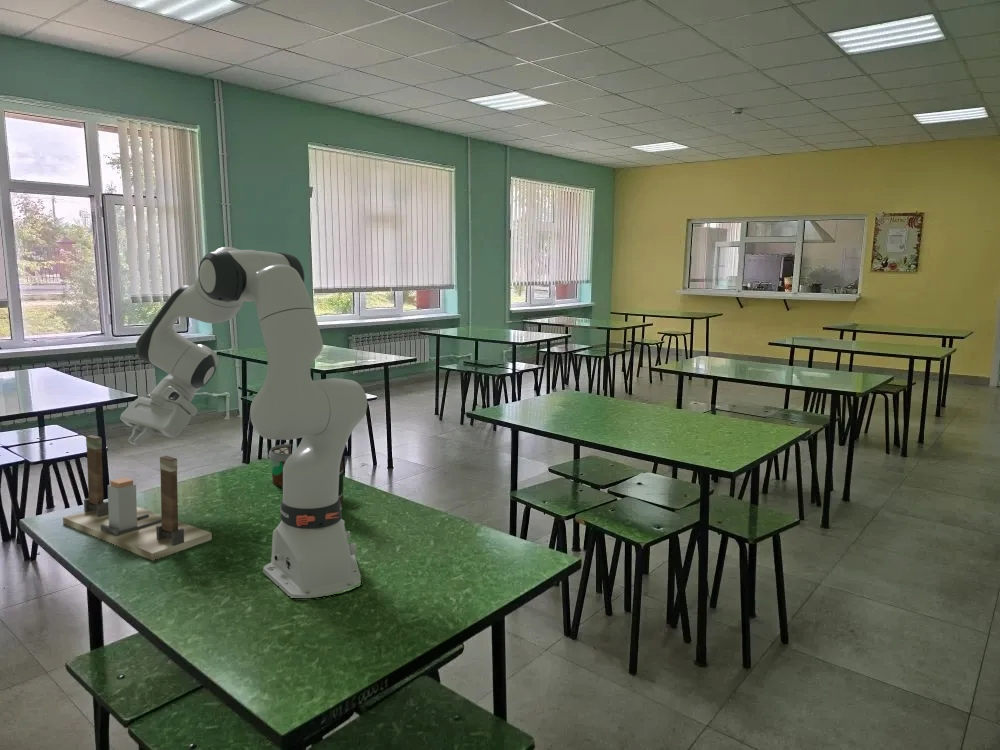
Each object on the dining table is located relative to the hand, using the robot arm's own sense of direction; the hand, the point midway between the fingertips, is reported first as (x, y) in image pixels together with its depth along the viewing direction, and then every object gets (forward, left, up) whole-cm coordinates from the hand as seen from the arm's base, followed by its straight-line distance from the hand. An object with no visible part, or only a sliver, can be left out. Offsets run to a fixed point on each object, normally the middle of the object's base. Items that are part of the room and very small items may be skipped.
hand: (133, 443), depth 164 cm
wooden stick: (-5, +8, -14) cm, 16 cm away
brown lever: (-29, -6, -14) cm, 33 cm away
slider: (-18, +3, -15) cm, 23 cm away
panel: (-16, 0, -17) cm, 23 cm away
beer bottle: (-19, -43, -17) cm, 50 cm away
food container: (+9, -37, -17) cm, 41 cm away
